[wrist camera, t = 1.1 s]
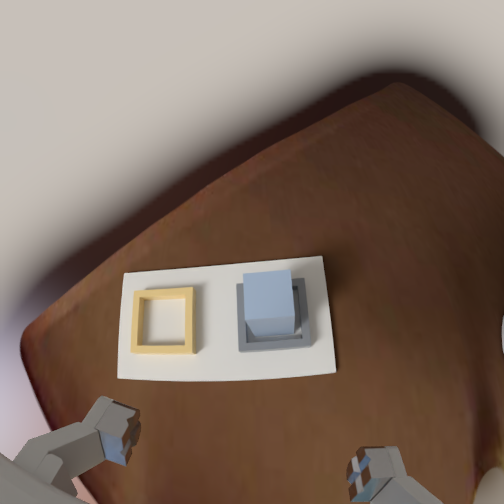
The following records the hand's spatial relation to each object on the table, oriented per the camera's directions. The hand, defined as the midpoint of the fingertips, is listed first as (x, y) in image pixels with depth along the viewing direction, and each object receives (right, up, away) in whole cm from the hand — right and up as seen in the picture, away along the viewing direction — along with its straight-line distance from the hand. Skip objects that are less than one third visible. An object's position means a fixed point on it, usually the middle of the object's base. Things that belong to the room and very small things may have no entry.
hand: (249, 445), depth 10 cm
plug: (+2, 0, +23) cm, 23 cm away
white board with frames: (-4, -1, +24) cm, 25 cm away
